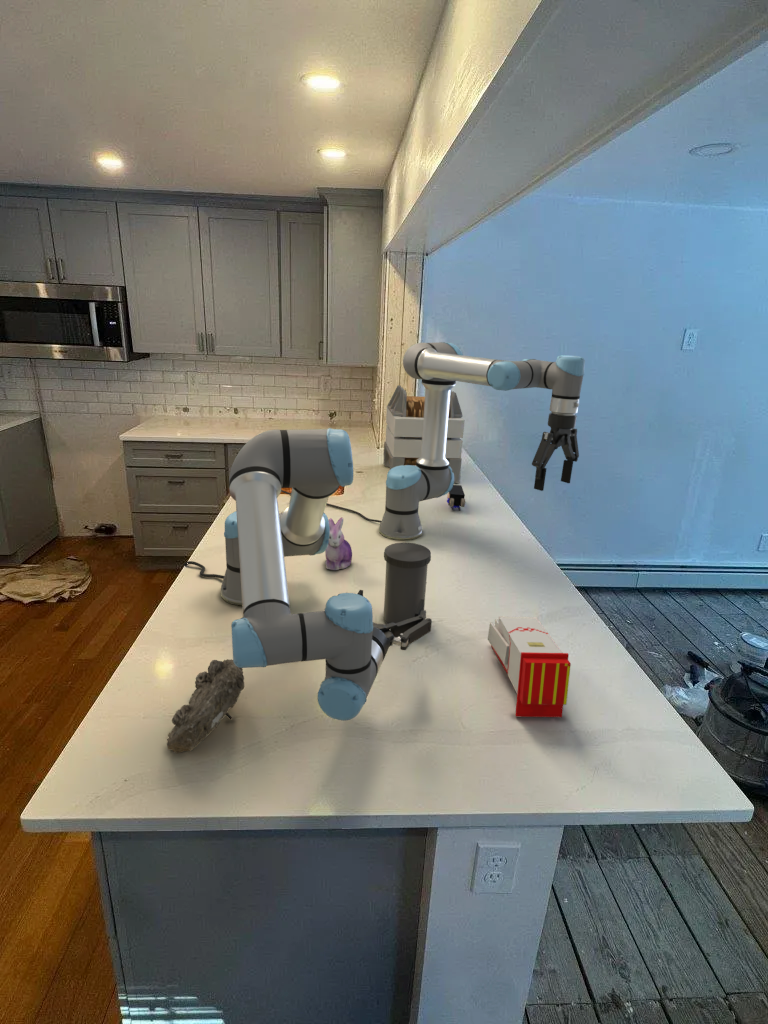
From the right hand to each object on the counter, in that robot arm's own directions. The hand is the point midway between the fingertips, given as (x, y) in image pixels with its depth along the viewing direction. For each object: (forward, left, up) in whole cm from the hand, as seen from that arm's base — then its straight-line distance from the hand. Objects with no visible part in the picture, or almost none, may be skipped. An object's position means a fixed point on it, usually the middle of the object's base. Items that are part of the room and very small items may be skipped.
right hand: (552, 485), depth 166 cm
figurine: (-40, -47, -28) cm, 68 cm away
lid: (-5, -53, -10) cm, 54 cm away
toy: (+29, -48, -28) cm, 63 cm away
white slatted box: (-101, +46, -28) cm, 115 cm away
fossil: (0, -107, -28) cm, 110 cm away
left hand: (+6, -68, -13) cm, 69 cm away
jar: (-5, -53, -28) cm, 60 cm away
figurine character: (-57, +24, -28) cm, 68 cm away
